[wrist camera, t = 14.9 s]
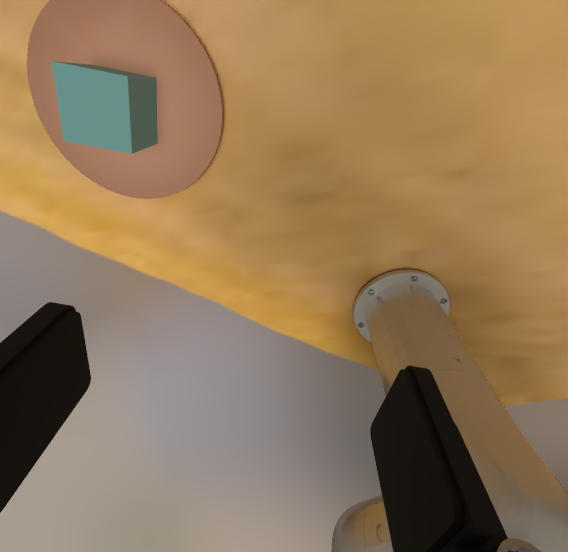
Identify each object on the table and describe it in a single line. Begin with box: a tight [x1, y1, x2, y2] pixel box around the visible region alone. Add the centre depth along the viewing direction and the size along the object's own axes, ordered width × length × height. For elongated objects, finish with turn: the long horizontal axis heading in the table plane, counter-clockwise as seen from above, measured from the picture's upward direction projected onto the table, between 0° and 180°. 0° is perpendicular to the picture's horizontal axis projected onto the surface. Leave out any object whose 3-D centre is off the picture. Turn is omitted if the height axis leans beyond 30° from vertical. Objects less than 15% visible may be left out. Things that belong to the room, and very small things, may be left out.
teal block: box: [51, 61, 158, 154], centre depth 30 cm, size 6×6×6 cm
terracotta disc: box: [27, 0, 224, 199], centre depth 33 cm, size 19×19×1 cm
